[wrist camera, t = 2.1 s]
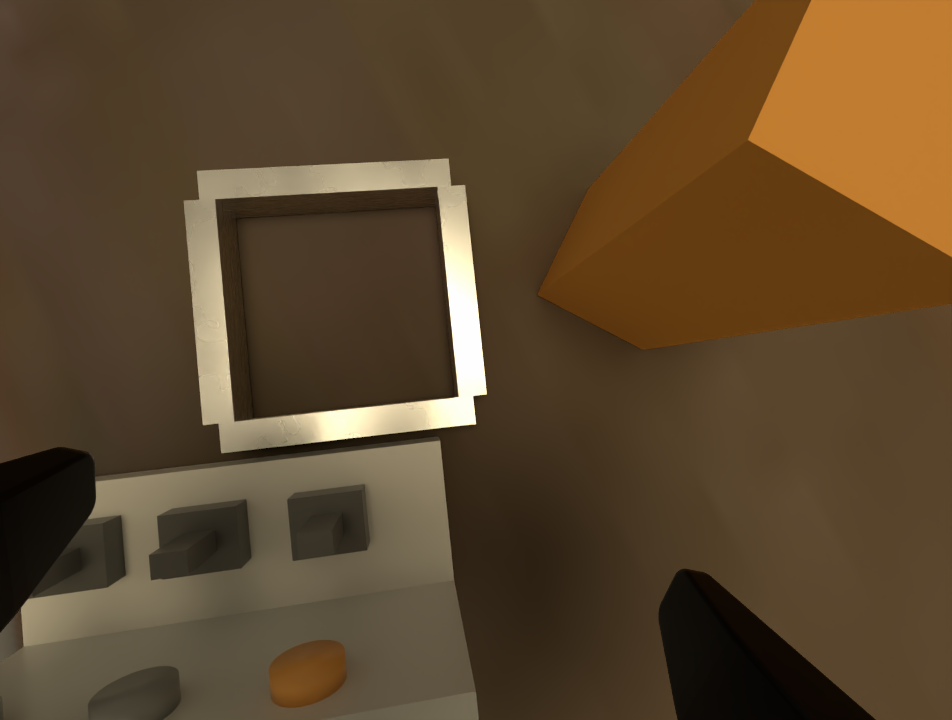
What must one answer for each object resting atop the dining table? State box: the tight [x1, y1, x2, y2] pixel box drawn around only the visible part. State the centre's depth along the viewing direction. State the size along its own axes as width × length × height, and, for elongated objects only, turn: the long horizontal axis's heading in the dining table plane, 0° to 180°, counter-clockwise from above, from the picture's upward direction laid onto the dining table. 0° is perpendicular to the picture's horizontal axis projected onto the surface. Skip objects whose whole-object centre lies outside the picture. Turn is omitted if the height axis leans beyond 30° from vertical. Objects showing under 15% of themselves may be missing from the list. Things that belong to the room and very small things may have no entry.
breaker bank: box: [0, 436, 479, 720], centre depth 15 cm, size 6×14×8 cm, turn 96°
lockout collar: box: [184, 159, 487, 453], centre depth 18 cm, size 10×10×2 cm
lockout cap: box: [537, 0, 952, 350], centre depth 14 cm, size 5×5×13 cm
